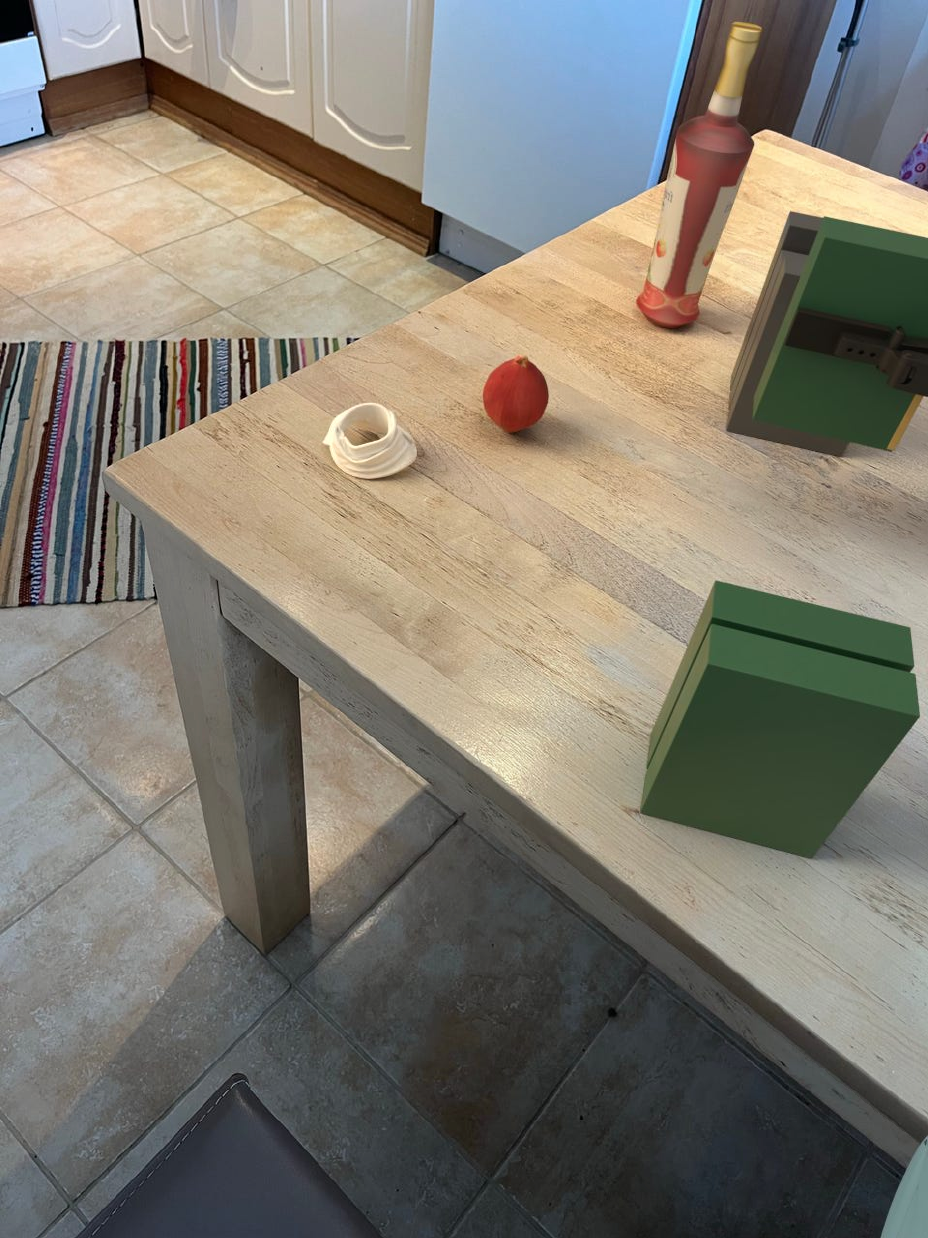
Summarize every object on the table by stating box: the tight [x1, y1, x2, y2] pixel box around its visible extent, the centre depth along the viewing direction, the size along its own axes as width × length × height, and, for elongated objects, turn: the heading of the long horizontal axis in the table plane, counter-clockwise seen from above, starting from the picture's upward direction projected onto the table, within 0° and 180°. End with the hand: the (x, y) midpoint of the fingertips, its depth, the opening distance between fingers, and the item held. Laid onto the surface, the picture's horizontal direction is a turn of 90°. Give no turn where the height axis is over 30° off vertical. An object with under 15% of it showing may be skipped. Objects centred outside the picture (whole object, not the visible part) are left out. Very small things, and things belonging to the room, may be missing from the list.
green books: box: [639, 580, 921, 859], centre depth 57 cm, size 6×11×15 cm, turn 76°
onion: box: [482, 353, 550, 434], centre depth 84 cm, size 6×6×8 cm
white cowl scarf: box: [322, 402, 418, 480], centre depth 80 cm, size 8×7×5 cm
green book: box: [753, 216, 928, 453], centre depth 70 cm, size 4×11×15 cm, turn 76°
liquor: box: [636, 21, 763, 329], centre depth 93 cm, size 7×7×28 cm
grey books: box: [725, 210, 850, 458], centre depth 86 cm, size 10×11×17 cm
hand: (792, 312), depth 70 cm, fingers closed on green book, 3 cm apart
